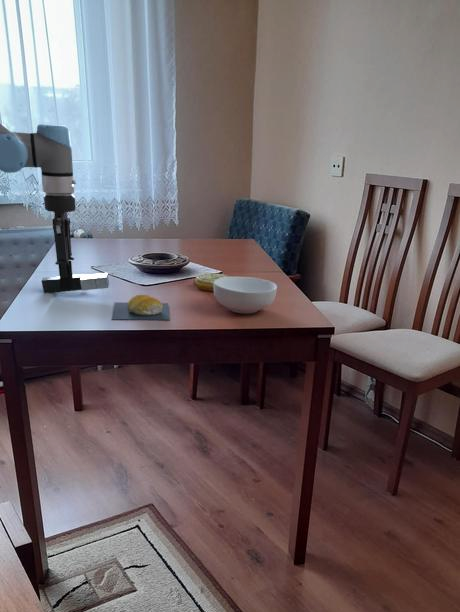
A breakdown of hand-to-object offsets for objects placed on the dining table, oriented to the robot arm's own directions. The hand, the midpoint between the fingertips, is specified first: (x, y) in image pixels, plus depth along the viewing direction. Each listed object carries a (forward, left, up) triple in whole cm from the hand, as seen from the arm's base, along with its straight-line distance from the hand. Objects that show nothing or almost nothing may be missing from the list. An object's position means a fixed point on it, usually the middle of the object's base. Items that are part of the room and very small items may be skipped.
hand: (67, 286), depth 149 cm
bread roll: (+21, -14, -3) cm, 25 cm away
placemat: (+20, -13, -3) cm, 24 cm away
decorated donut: (+41, +11, -3) cm, 42 cm away
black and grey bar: (+3, 0, -1) cm, 3 cm away
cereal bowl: (+47, -10, -3) cm, 48 cm away
